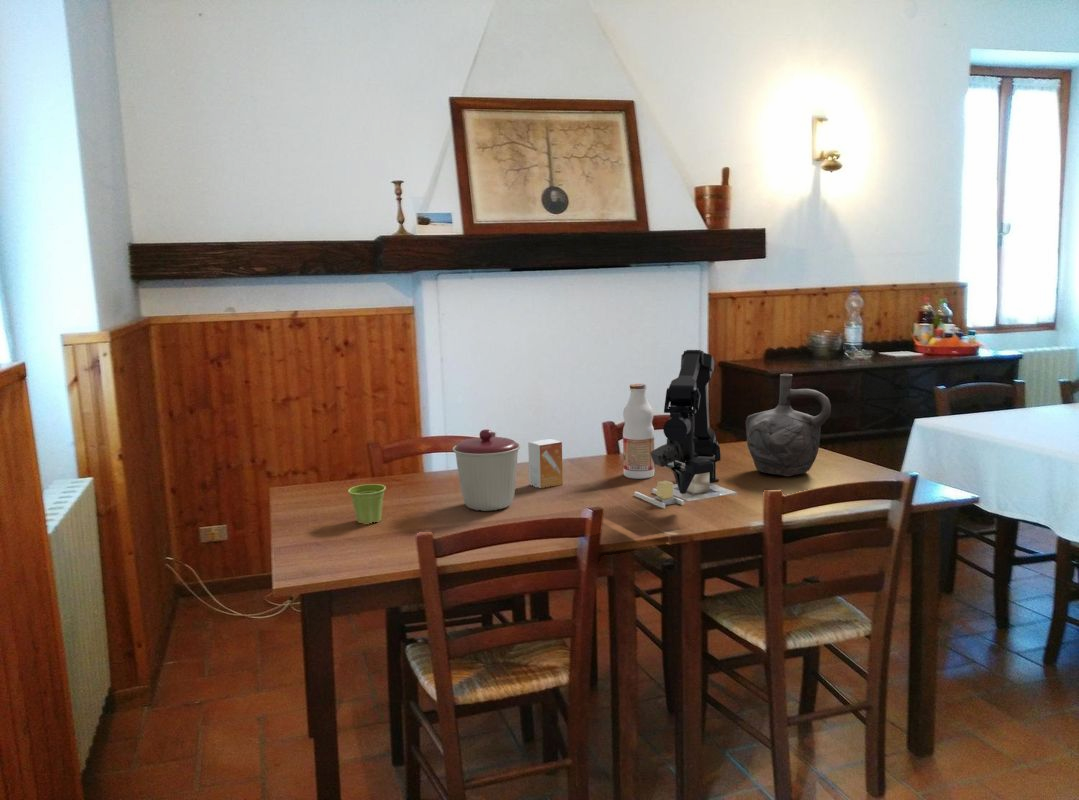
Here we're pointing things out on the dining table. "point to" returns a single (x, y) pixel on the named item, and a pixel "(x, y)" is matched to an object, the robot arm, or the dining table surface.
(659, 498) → the lever
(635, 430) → the fruit juice
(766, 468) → the vessel
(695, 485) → the block
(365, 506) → the plant pot
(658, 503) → the rail
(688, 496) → the plate
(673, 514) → the dining table surface
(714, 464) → the robot arm
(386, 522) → the dining table surface
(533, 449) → the small box
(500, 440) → the canister
